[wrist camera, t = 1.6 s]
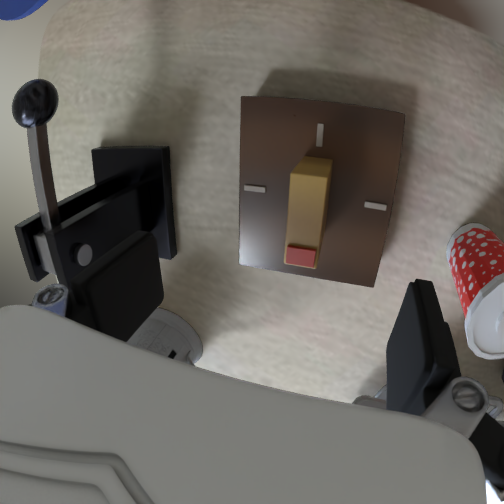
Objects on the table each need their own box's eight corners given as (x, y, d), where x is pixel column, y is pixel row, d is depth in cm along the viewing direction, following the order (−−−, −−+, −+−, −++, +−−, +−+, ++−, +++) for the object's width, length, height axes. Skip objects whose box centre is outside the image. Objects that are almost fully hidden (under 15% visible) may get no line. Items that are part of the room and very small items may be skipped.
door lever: (39, 81, 15) (2, 88, 12) (67, 72, 14) (27, 77, 12) (63, 251, 21) (35, 271, 19) (91, 258, 20) (61, 281, 18)
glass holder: (126, 305, 35) (45, 393, 22) (238, 312, 30) (165, 444, 17) (152, 359, 38) (90, 445, 26) (255, 373, 33) (205, 490, 21)
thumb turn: (303, 155, 18) (289, 173, 14) (333, 159, 18) (327, 178, 14) (297, 230, 21) (282, 266, 17) (324, 234, 20) (315, 271, 16)
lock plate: (254, 96, 20) (239, 96, 18) (398, 111, 18) (406, 113, 15) (250, 246, 26) (237, 265, 23) (372, 267, 24) (373, 289, 21)
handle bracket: (99, 146, 26) (-4, 187, 16) (169, 145, 24) (59, 190, 14) (112, 241, 31) (31, 304, 21) (177, 254, 29) (97, 335, 19)
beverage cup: (510, 259, 19) (583, 385, 7) (454, 295, 22) (493, 437, 11) (486, 198, 18) (587, 312, 6) (424, 239, 21) (473, 385, 9)
